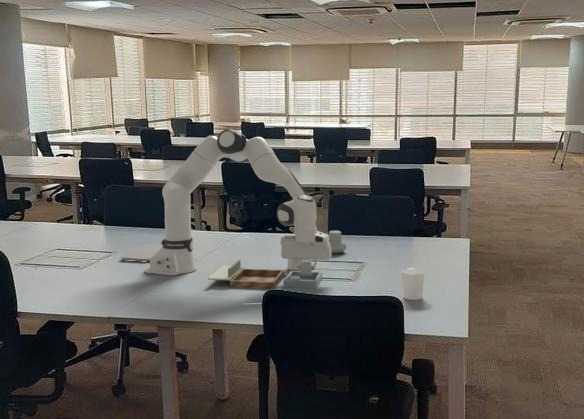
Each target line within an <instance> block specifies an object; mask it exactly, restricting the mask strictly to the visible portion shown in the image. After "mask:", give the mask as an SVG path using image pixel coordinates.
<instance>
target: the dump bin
mask: <svg viewBox="0 0 584 419" xmlns="http://www.w3.org/2000/svg"><path fill="white" fill-rule="evenodd" d="M290 276H300V278H301V281H300V280H290ZM322 278H323V271H312V274H311V275H301V271H299V270H290V271H289V273H288V274H287V275H286V277H284V279H283V280H282V282H283V288H299V289H300V288H302V289H303V288H304V289H305V288H306V289H317V287H318V286H319V284H320V282H321V281H322Z"/></svg>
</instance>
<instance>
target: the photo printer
mask: <svg viewBox="0 0 584 419" xmlns="http://www.w3.org/2000/svg"><path fill="white" fill-rule="evenodd" d="M302 261H311V259H299V261H298V262H299V264H300V265H301V262H302ZM287 269H288V270H290V271H301V270H298V267H297V264H296V263H295V259H287Z"/></svg>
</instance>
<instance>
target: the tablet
mask: <svg viewBox="0 0 584 419" xmlns="http://www.w3.org/2000/svg"><path fill="white" fill-rule="evenodd" d="M161 248H162V244H145V245H142V246H140V247H137V248H136V249H134V250H132V251H129V252H128V253H125V254H123V255H121V256H120V257H121V259H122V260H133V261H134V260H135V261H150V259H151V257H152V256H153V255H154V254H155V253H156V252H157V251H158V250H160V249H161Z"/></svg>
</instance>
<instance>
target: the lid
mask: <svg viewBox="0 0 584 419" xmlns="http://www.w3.org/2000/svg"><path fill="white" fill-rule="evenodd" d="M242 269H244V266H243V265H241V259H237V260H236V261H234V262H233V264H232V265H221V267H219V268H218V269H217V270H215V272H213V273H212V274H210V276H208V277H207V280H210V281H211V280H212V281H213V280H214V281H230V280H231V279H232V278H233V277H234V276H235V275H237V274H238V273H239V272H240V271H241V270H242Z"/></svg>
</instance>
